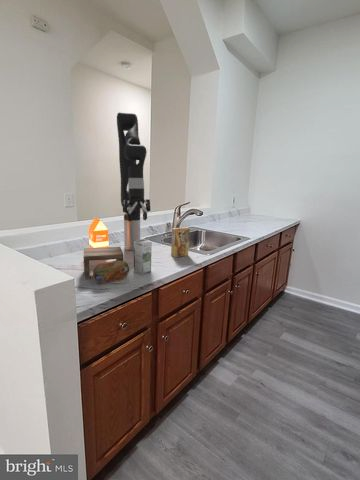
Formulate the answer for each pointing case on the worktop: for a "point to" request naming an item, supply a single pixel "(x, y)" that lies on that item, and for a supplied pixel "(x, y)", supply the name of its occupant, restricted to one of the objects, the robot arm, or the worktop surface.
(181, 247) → the candy box
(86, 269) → the walnut shelf
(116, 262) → the tin
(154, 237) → the worktop surface
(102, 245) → the orange juice
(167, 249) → the worktop surface
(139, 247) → the syrup box
